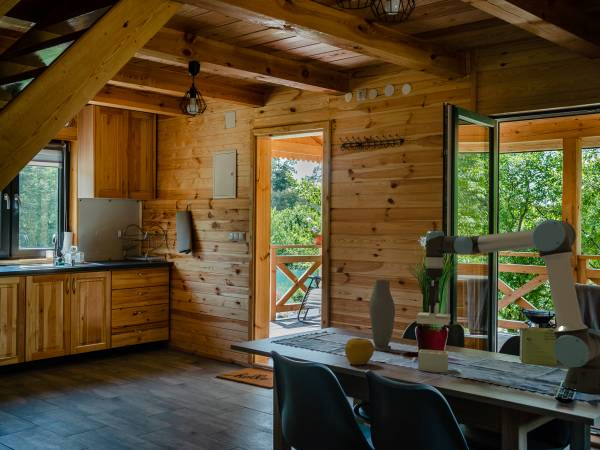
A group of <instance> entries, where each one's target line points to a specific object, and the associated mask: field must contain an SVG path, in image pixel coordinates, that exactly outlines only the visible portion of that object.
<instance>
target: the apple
mask: <svg viewBox="0 0 600 450" xmlns="http://www.w3.org/2000/svg"><path fill="white" fill-rule="evenodd" d="M374 351H375V350H374V343H372V341H371V340H370V339H368V338H361V337H356V338H355V337H354V338H351V339H350V338H349V339H348V340H347V342H346V343H345V346H344V353H345V356H346V359H347V360H348V363H349V364H350V365H354V366H358V365H359V366H360V365H361V366H362V365H366V364H368V363H369V361H370V360H371V359H372V357H373V355H374V353H375V352H374Z"/></svg>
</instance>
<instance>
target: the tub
mask: <svg viewBox="0 0 600 450" xmlns="http://www.w3.org/2000/svg"><path fill="white" fill-rule="evenodd" d="M417 355H418V356H417V365H418V366H417V371H424V372H437V373H448V370H449V351H445V350H434V349H433V350H432V349H419V351H418V354H417Z"/></svg>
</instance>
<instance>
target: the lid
mask: <svg viewBox="0 0 600 450" xmlns="http://www.w3.org/2000/svg"><path fill="white" fill-rule="evenodd" d="M450 323H451V313H441V312H440V313H439V312H438V313H437V312H436V322H433V321H429V312H418V313H417V314H416V324H422V325H423V324H425V325H426V324H427V325H439V326H440V325H442V326H449V324H450Z"/></svg>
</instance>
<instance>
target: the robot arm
mask: <svg viewBox="0 0 600 450" xmlns="http://www.w3.org/2000/svg"><path fill="white" fill-rule="evenodd" d="M576 240H577V232H576V229H575V227H574V226H573V225H572V224H571V223H569V222H568V221H564V220H557V219H545V220H541V221H540V222H538V223H537V224H535V226H534V228H533V229H527V230H519V231H510V232H509V231H508V232H502V233H501V232H500V233H492V234H491V233H490V234H481V235H471V236H466V235H445V232H444V231H440V230H439V231H437V230H431V231H430V230H428V231H427V232H426V236H425V260H424V261H425V263H424V264H425V269H424V270H425V271H424V272H425V277H428V278H430V280H428V281H429V282H428V288H429V289H428V290H429V291H428V292H429V295H428V297H429V298H428V302H427V306H428V313H429V321H433V322H436V312H437V313H439V304H440V303H441V301H440V298H439V295H440V294H439V290H440V279H438V278H443V277H444V268H443V267H444V263H445V262H446V260H445V259H444V255H462V256H464V255H478V254H486V253H488V254H489V253H496V252H497V253H499V252H508V251H521V250H531V249H537V250H538V256H539V259H541V260H542V261H543V262H544V264H545V269H546V274H547V280H548V284H549V286H548V287H549V291H550V295H551V300H552V304H553V310H554V311H553V312H554V316H555V321H556V327H555V328H554V329H555V330H554V334H555V340H556V341H555V343H554V346H553V351H554V355H555V357H556V358H557V362H559V363H560V364H562V366H563V365H564V366H565V367H568V369H567V372H566V375H565V378H564V380H563V387H564V386H565V387H568V388H572V389H576V390H577V391H576V392H579V393H584V394H585V393H586V394H600V329H594V328H589V327H588V326H587V325H586V324H584V323H583V320H582V317H581V310H580V305H579V300H578V296H577V290H576V286H575V279H574V275H573V271H572V265H571V260H570V257H571V256H573V255H572V254H573V248H572V247H573V246H574V244H575V243H576ZM565 387H564V388H565Z"/></svg>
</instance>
